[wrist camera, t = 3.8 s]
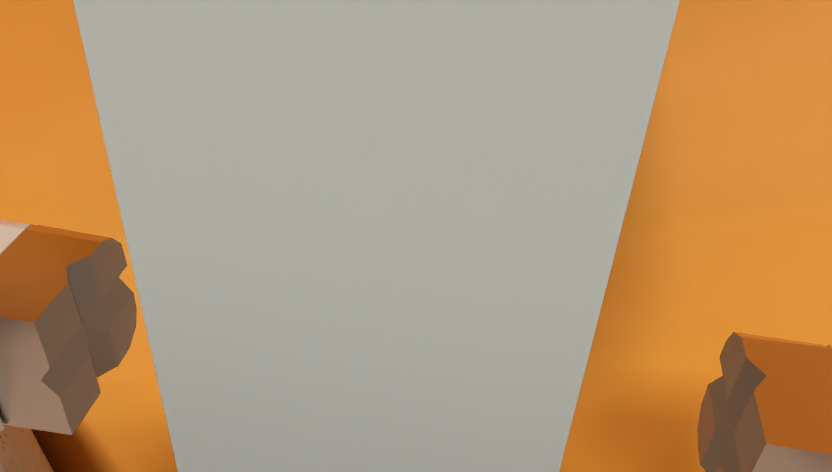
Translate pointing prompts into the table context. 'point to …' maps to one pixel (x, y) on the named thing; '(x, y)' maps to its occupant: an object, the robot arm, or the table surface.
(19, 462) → the ceramic mug
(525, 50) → the grey flat block
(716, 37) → the table surface
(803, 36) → the table surface
